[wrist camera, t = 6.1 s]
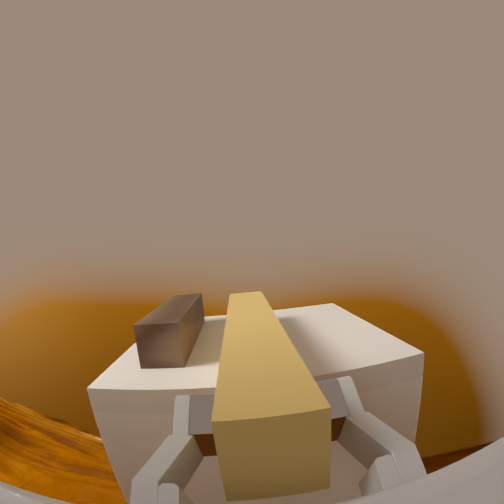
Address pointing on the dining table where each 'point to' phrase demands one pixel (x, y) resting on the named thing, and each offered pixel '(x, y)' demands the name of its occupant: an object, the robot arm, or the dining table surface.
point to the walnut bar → (170, 332)
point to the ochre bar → (267, 409)
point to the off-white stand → (204, 382)
